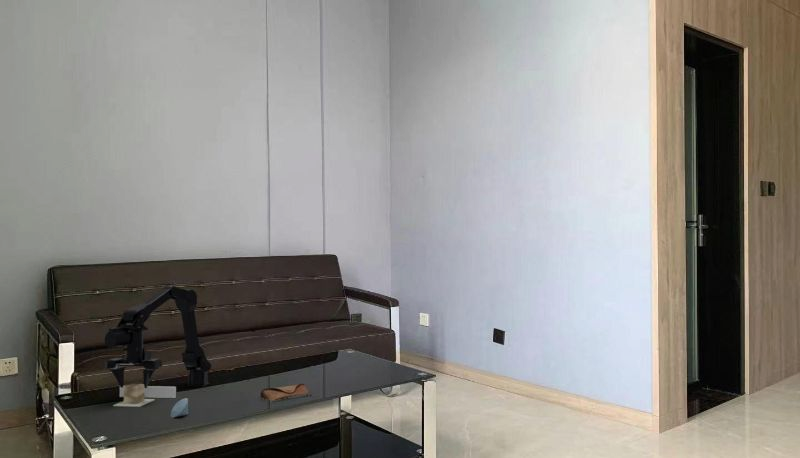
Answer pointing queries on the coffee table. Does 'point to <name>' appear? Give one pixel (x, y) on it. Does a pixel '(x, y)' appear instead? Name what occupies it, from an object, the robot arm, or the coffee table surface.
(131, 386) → the maple block
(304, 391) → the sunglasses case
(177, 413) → the gemstone
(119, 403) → the pad
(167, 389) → the frosted wall
